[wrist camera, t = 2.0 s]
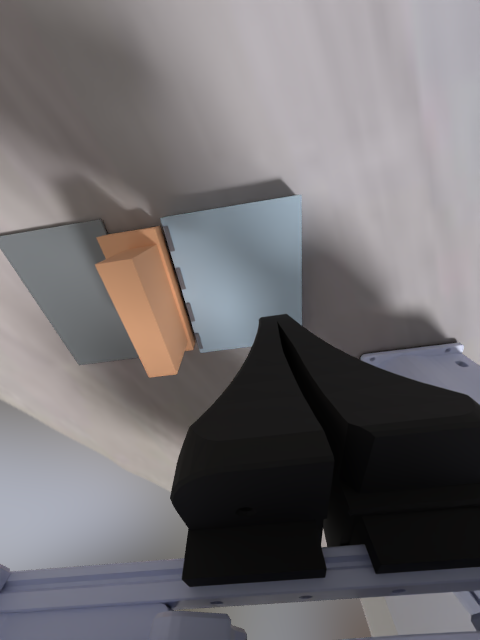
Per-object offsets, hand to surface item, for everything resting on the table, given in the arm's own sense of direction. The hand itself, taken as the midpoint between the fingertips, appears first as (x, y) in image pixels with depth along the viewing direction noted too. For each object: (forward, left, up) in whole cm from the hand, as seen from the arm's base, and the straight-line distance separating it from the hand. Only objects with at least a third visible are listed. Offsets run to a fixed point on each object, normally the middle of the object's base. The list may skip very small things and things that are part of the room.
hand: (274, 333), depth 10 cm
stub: (+8, 0, -8) cm, 12 cm away
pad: (+14, 0, -8) cm, 17 cm away
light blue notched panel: (+1, 0, -8) cm, 8 cm away
